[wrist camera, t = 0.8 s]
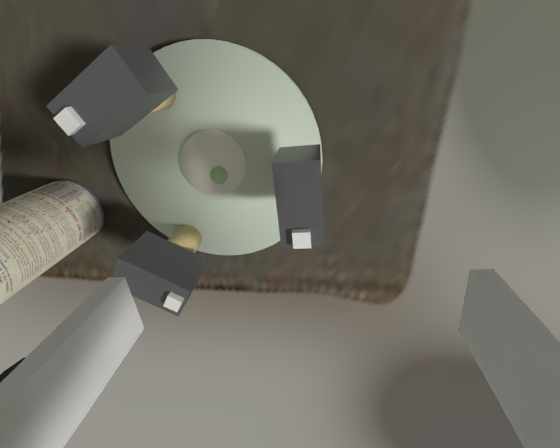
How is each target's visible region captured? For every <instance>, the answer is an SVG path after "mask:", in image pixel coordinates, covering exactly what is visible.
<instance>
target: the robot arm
mask: <svg viewBox="0 0 560 448" xmlns="http://www.w3.org/2000/svg"><path fill="white" fill-rule="evenodd" d="M143 329H144V327H143V324H142V321H141V319H140V316H139V313H138V311H137V308H136V306H135V303H134V300H133V297H132V295H131V292H130V289H129V287H128V284H127V281H126V279H125V277H117V278H107V279H106V280H105V281H104V282H103V283H102V284H101V285H100V286H99V287H98V288H97V289H96V290H95V291H94V292H93V293H92V294H91V295H90V296H89V297H88V298H87V299H86V300H85V301H84V302H83V303H81V305H79V306H78V307H77V308H76V310H74V311H73V312H72V313H71V314H70V316H68V317H67V318H66V319H65V320H64V321H63V322H62V323H61V324H60V325H59V326H58V327H57V328H56V329H55V330H54V331H53V332H52V333H51V334H50V335H49V336H48V337H47V338H46V339H45V340H44V341H43V342H42V343H41V344H40V345H39V346H37V348H35V349H34V351H32V352H31V353H30V354H29V355H28V356H27V357H26V358H23V359H21V360H20V361H18V362H17V363H16V364H14V365H13V366H11V367H10V368H8V369H7V370H5V371H4V372H3V373H2V374H1V375H0V448H64V446H65V445H66V443H67V442H68V440H69V439H70V437H71V436H72V434H73V433H74V431H75V430H76V428H77V427H78V425H79V424H80V423H81V421H82V420H83V418H84V417H85V415H86V414H87V412H88V411H89V409H90V408H91V406H92V405H93V403H94V402H95V400H96V399H97V397H98V396H99V394H100V393H101V391H102V390H103V388H104V387H105V386H106V384H107V383H108V381H109V380H110V378H111V377H112V375H113V374H114V372H115V371H116V369H117V368H118V366H119V365H120V363H121V362H122V360H123V359H124V358H125V356H126V355H127V353H128V352H129V350H130V349H131V347H132V346H133V344H134V343H135V341H136V340H137V338H138V337H139V335H140V334H141V332H142V331H143ZM459 331H460V333H461V334H462V336H463V338H464V340H465V342H466V343H467V345H468V347H469V349H470V351H471V352H472V354H473V356H474V358H475V360H476V362H477V363H478V365H479V367H480V369H481V370H482V372H483V374H484V376H485V378H486V379H487V381H488V383H489V385H490V387H491V388H492V390H493V392H494V394H495V396H496V397H497V399H498V401H499V403H500V405H501V406H502V408H503V410H504V412H505V414H506V415H507V417H508V419H509V421H510V423H511V424H512V426H513V428H514V430H515V432H516V433H517V435H518V437H519V438H520V441H521V442H522V444H523V446H524V448H560V342H559V341H558V340H557V339H556V338H555V336H554V335H553V334H552V333H551V332H550V331H549V330H548V329H547V328H546V326H544V324H543V323H542V322H541V321H540V320H539V319H538V318H537V316H536V315H535V314H534V313H533V312H532V311H531V310H530V309H529V308H528V307H527V305H526V304H525V303H524V302H523V301H522V300H521V299H520V298H519V297H518V296H517V295H516V293H515V292H514V291H513V290H512V289H511V288H510V287H509V286H508V284H507V283H506V282H505V281H504V280H503V279H502V278H501V277H500V276H499V275H498V273H497V272H495V270H494V269H485V270H484V269H481V270H470V272H469V278H468V283H467V288H466V293H465V298H464V304H463V309H462V314H461V320H460V324H459Z"/></svg>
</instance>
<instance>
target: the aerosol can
mask: <svg viewBox="0 0 560 448" xmlns="http://www.w3.org/2000/svg"><path fill="white" fill-rule="evenodd" d="M104 219H105V215H104V211H103V207H102V205H101V203H100V201H99V200H98V198H97V197H96V196H95V195H94V194H93V193H92V192H91V190H90V189H88V188H86V187H85V186H83V185H82V184H80V183H78V182H75V181H72V180H63V179H60V180H57V181H54V182H51V183H49V184H46V185H44V186H42V187H39V188H37V189H35V190H32V191H30V192H27V193H25V194H23V195H20V196H18V197H15V198H13V199H11V200H8V201H6V202H4V203H1V204H0V304H1V303H3V302H4V301H5V300H7V299H8V298H10V297H11V296H12V295H14V294H15V293H16V292H18V291H19V290H20V289H22V288H23V287H24V286H26V285H27V284H28V283H30V282H31V281H33V280H34V279H35V278H37V277H38V276H39V275H41V274H42V273H43V272H45V271H46V270H48V269H49V268H50V267H52V266H53V265H54V264H56V263H57V262H58V261H60V260H61V259H62V258H64V257H65V256H67V255H68V254H69V253H71V252H72V251H73V250H75V249H76V248H77V247H79V246H80V245H81V244H83V243H84V242H86V241H87V240H88V239H90V238H91V237H92V236H94V235H95V234H96V233H98V232H99V231H100V230H101V229H102V227H103V225H104Z"/></svg>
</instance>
